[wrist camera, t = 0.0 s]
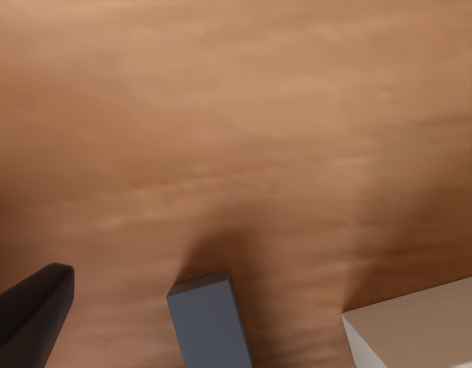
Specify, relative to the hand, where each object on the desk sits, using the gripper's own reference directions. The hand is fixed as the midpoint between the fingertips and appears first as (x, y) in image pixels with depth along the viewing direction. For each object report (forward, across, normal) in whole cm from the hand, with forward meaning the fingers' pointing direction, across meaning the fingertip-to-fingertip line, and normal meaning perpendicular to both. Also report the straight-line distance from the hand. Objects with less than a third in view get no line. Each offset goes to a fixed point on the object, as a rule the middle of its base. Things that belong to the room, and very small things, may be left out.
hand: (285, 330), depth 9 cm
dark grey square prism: (+8, 0, +13) cm, 16 cm away
